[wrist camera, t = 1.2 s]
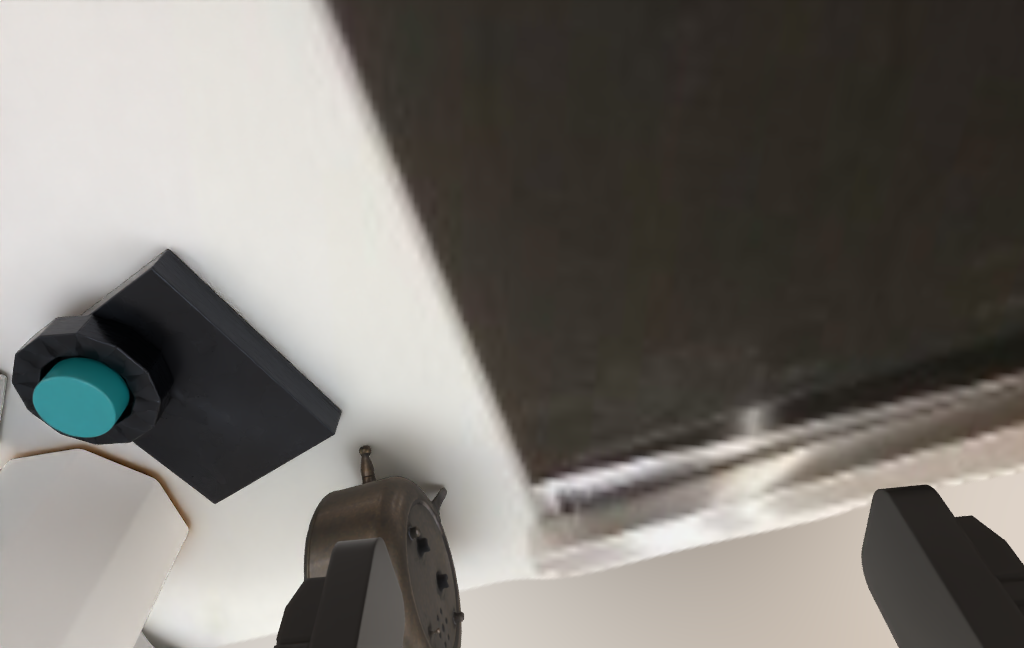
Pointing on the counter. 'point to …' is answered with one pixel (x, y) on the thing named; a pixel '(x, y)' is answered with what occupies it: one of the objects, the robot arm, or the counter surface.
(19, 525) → the cup
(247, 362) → the black push-button base
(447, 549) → the alarm clock
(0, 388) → the cosmetic box
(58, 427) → the button
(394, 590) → the robot arm
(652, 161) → the counter surface
